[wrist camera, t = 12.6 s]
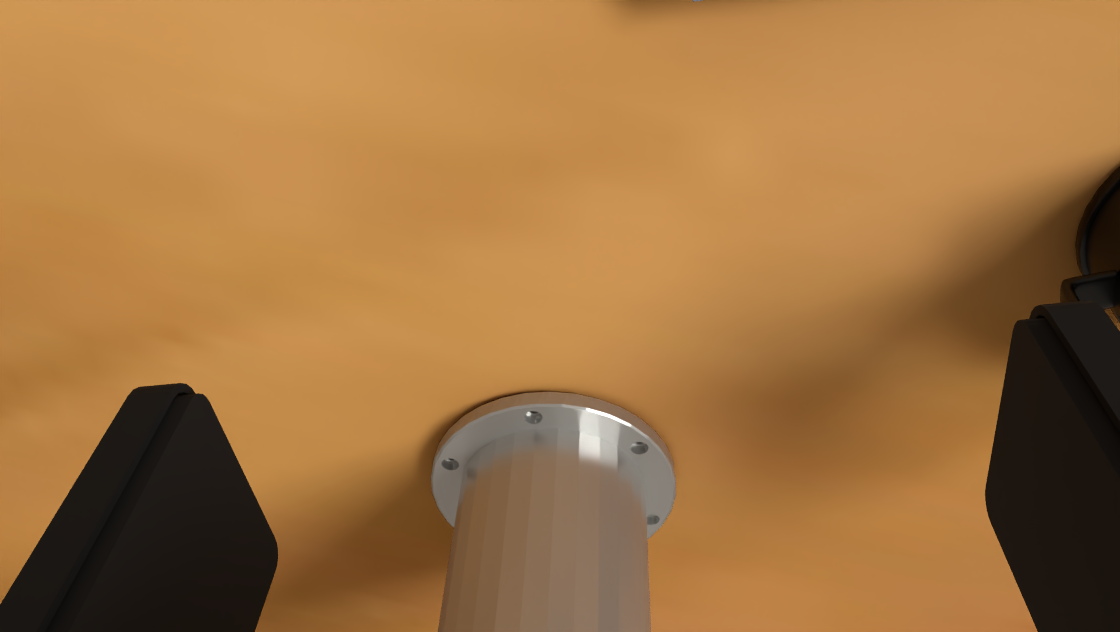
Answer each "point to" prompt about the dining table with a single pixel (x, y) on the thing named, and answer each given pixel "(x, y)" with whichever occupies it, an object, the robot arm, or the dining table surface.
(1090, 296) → the french press
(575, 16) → the dining table surface
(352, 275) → the dining table surface
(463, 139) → the dining table surface
